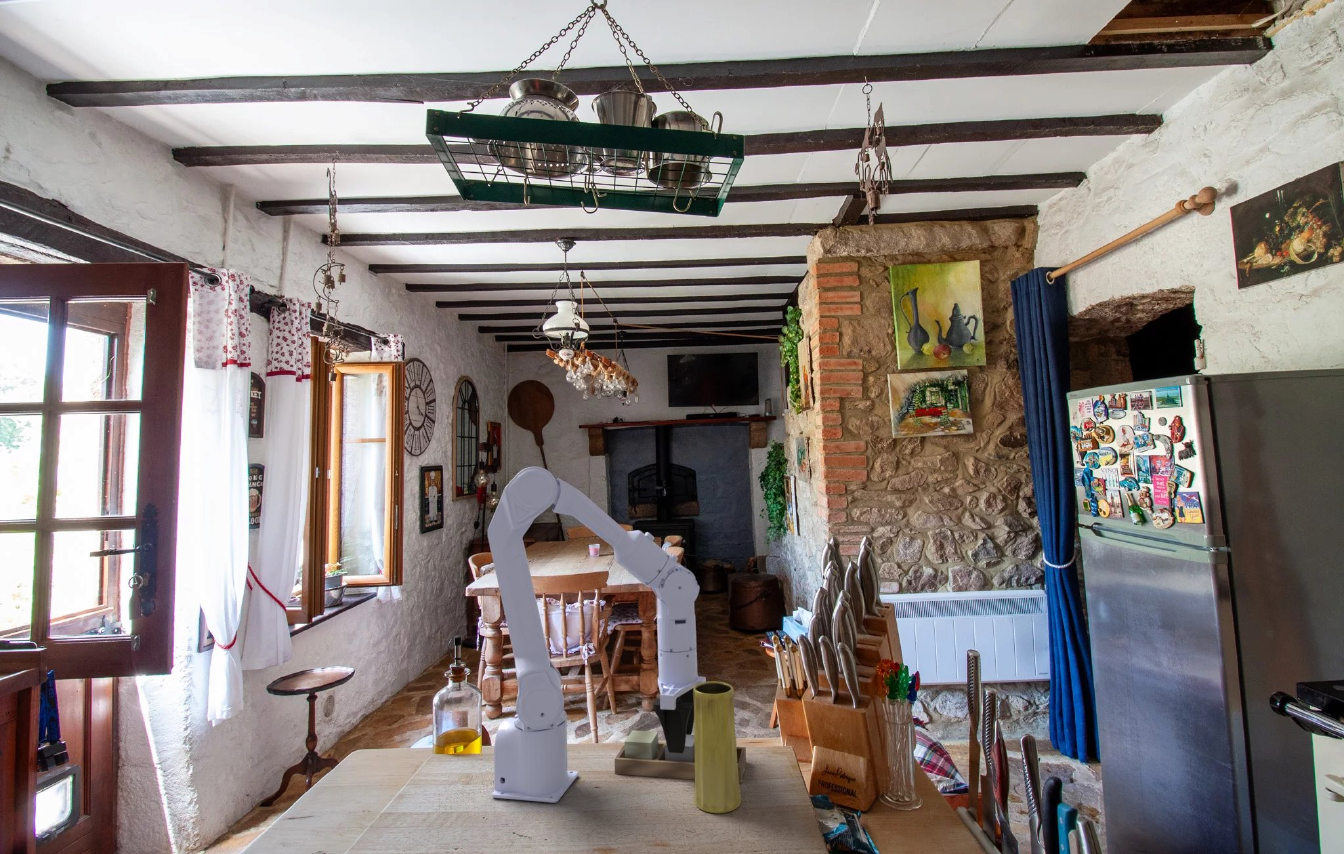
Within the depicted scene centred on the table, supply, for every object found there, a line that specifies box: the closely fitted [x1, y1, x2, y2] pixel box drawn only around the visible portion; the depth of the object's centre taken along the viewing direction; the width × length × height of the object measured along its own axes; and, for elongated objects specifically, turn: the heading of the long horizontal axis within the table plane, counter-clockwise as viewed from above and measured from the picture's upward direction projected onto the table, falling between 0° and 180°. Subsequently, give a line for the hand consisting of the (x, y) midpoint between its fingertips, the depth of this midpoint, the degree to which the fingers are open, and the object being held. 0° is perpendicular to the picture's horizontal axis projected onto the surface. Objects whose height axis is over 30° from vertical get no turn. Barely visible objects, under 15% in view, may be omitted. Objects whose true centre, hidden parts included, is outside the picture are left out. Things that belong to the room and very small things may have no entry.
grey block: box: [665, 734, 695, 763], centre depth 88 cm, size 4×4×4 cm
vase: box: [693, 680, 742, 814], centre depth 79 cm, size 6×6×14 cm
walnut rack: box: [614, 729, 747, 784], centre depth 88 cm, size 18×6×4 cm, turn 77°
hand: (680, 742), depth 88 cm, fingers open, 5 cm apart
